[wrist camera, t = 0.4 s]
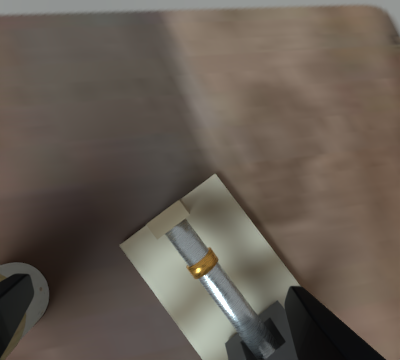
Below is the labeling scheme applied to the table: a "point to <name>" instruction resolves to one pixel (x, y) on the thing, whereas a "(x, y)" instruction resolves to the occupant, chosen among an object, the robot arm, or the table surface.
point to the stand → (228, 259)
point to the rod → (222, 290)
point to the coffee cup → (37, 304)
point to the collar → (279, 328)
